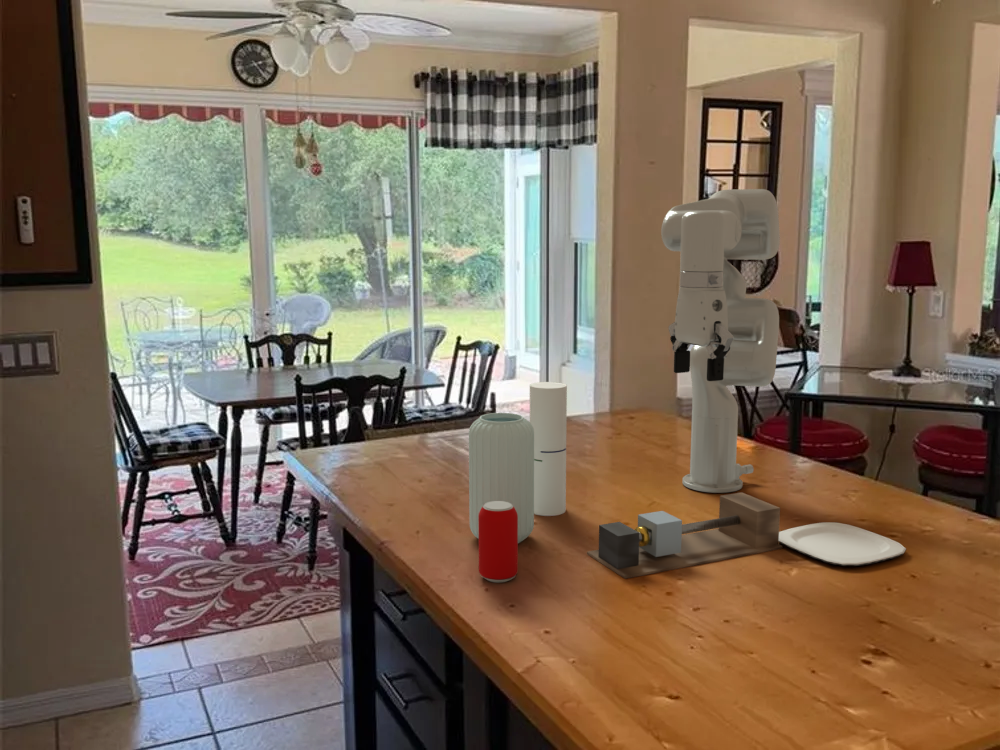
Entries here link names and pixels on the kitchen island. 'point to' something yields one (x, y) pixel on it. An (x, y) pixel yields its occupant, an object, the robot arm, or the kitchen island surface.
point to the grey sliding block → (662, 533)
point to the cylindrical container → (549, 446)
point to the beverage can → (498, 541)
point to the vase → (502, 467)
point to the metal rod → (691, 527)
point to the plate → (840, 544)
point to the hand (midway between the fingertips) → (697, 376)
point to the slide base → (694, 540)
